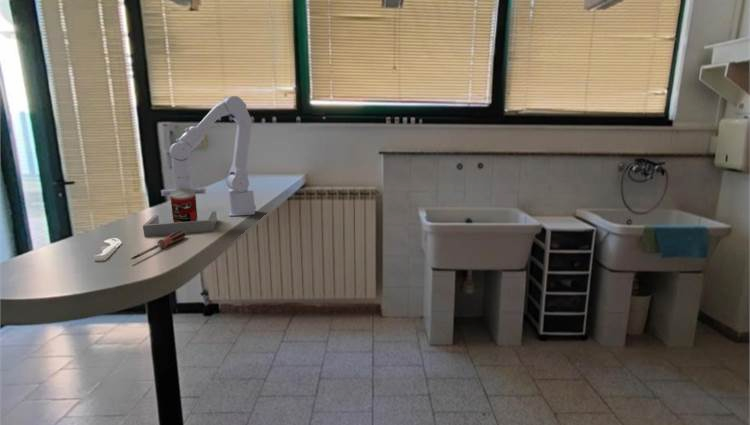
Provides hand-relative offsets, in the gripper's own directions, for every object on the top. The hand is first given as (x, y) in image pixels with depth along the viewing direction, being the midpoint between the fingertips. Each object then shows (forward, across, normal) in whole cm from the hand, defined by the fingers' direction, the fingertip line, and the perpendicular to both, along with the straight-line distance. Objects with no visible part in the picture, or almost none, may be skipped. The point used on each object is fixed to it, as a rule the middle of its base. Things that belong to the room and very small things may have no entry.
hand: (186, 214), depth 148 cm
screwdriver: (+3, +1, +34) cm, 34 cm away
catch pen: (+3, 0, +9) cm, 10 cm away
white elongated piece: (+3, +18, +26) cm, 32 cm away
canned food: (+2, 0, +4) cm, 5 cm away
